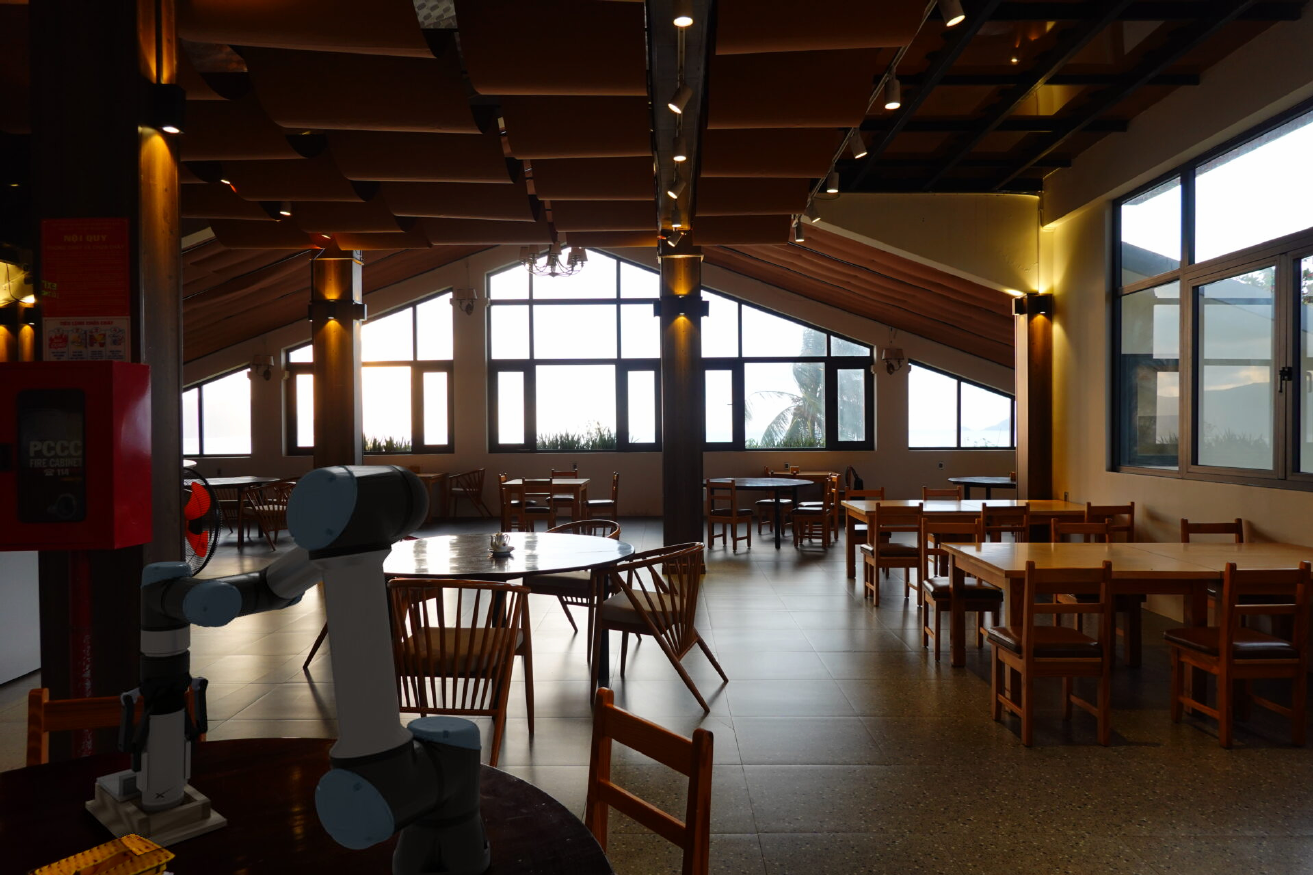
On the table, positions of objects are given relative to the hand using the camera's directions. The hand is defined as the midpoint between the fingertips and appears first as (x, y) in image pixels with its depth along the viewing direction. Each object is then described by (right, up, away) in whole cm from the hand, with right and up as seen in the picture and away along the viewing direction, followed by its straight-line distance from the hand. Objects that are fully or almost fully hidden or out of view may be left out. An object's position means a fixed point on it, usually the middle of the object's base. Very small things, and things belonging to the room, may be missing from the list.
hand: (163, 782), depth 144 cm
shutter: (-8, -3, +7) cm, 11 cm away
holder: (-3, -7, +3) cm, 8 cm away
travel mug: (0, -4, 0) cm, 4 cm away
